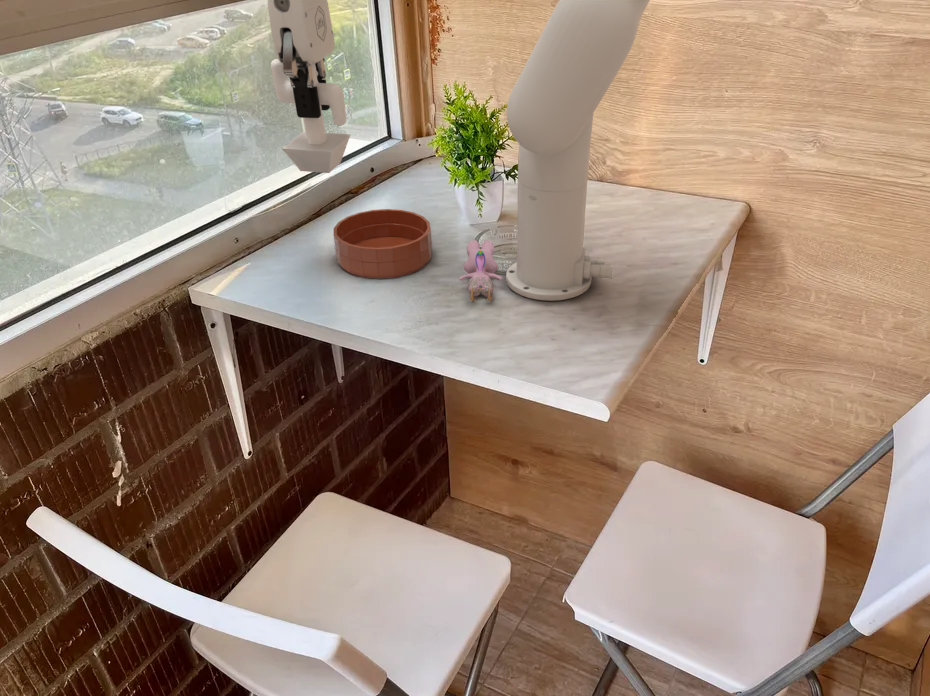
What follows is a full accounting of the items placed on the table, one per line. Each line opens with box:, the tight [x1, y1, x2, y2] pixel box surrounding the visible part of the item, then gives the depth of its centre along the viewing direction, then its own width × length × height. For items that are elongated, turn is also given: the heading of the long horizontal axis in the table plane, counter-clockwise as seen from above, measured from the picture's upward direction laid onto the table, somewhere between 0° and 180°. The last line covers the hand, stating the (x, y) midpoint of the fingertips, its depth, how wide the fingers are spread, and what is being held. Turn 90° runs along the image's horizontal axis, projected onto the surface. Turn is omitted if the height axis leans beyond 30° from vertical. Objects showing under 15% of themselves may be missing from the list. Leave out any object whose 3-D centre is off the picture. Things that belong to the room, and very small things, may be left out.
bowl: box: [332, 208, 433, 279], centre depth 118 cm, size 15×15×5 cm
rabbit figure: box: [458, 239, 503, 303], centre depth 112 cm, size 6×6×15 cm
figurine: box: [270, 57, 351, 174], centre depth 106 cm, size 7×9×15 cm
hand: (313, 112), depth 105 cm, fingers closed on figurine, 2 cm apart
